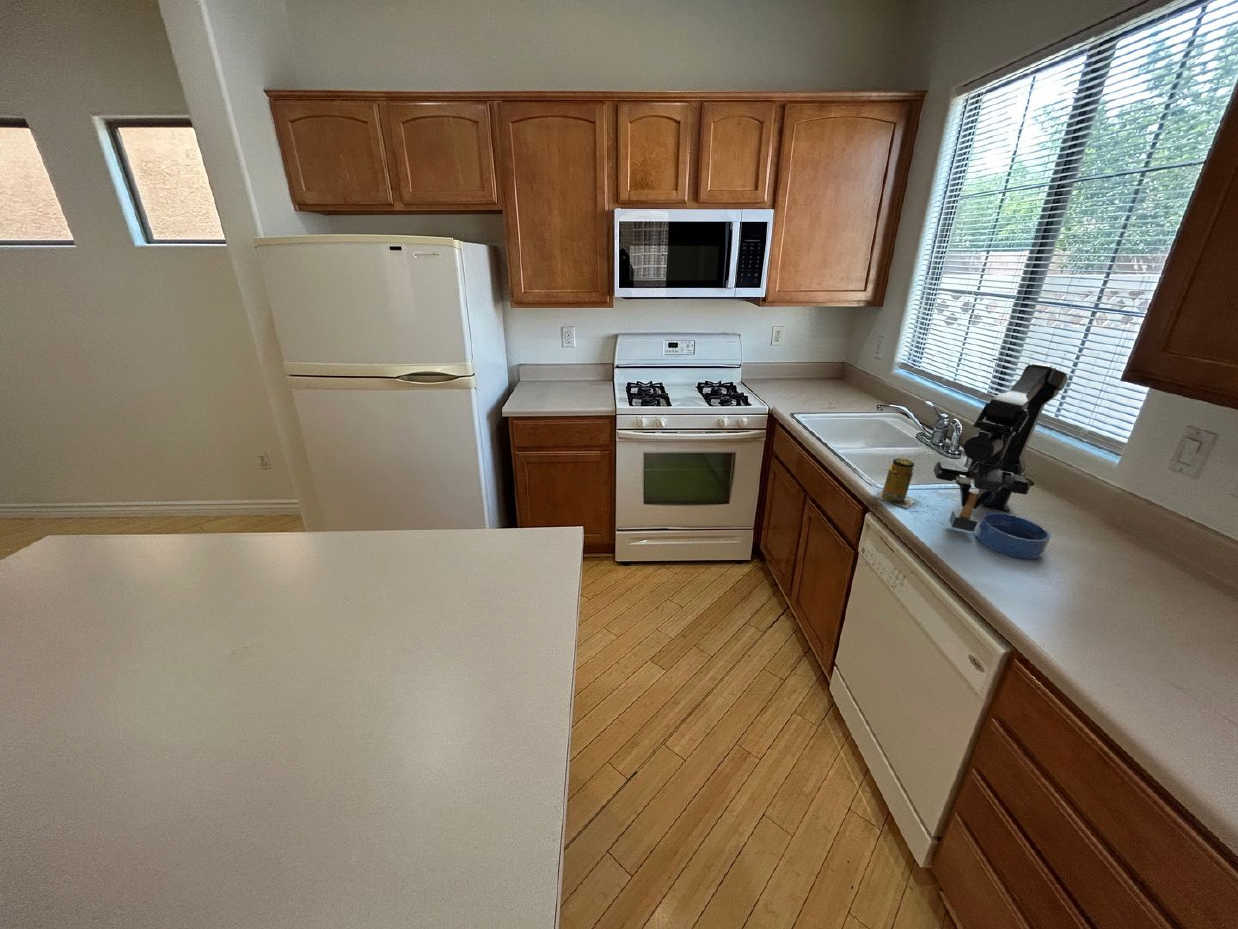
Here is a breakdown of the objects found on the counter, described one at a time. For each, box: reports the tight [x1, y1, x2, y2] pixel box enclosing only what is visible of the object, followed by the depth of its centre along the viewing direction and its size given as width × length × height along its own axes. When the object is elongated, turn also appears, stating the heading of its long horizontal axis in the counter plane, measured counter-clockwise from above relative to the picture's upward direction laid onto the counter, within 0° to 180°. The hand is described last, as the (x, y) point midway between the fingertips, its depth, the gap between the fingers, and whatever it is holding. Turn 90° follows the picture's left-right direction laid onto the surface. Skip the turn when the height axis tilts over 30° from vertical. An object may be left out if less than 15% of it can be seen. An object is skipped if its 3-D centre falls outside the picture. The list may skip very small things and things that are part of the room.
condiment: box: [875, 457, 917, 509], centre depth 136 cm, size 7×8×12 cm
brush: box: [948, 489, 979, 533], centre depth 121 cm, size 4×5×10 cm
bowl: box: [975, 512, 1051, 560], centre depth 117 cm, size 13×13×6 cm
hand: (968, 507), depth 121 cm, fingers closed on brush, 2 cm apart
